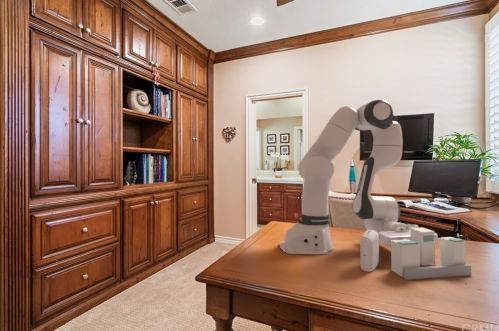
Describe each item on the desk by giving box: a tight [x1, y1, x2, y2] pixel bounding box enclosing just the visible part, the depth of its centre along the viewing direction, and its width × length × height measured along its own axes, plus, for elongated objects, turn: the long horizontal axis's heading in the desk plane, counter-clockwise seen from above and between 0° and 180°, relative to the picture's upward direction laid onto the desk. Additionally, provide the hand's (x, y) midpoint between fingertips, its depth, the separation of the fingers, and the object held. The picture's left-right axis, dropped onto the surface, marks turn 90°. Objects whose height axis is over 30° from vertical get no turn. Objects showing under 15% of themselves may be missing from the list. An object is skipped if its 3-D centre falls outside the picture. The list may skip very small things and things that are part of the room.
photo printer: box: [359, 229, 380, 273], centre depth 85 cm, size 10×4×12 cm, turn 139°
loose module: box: [410, 227, 436, 266], centre depth 84 cm, size 4×5×11 cm
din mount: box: [390, 236, 472, 280], centre depth 79 cm, size 22×7×10 cm, turn 96°
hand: (424, 245), depth 83 cm, fingers closed on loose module, 4 cm apart
